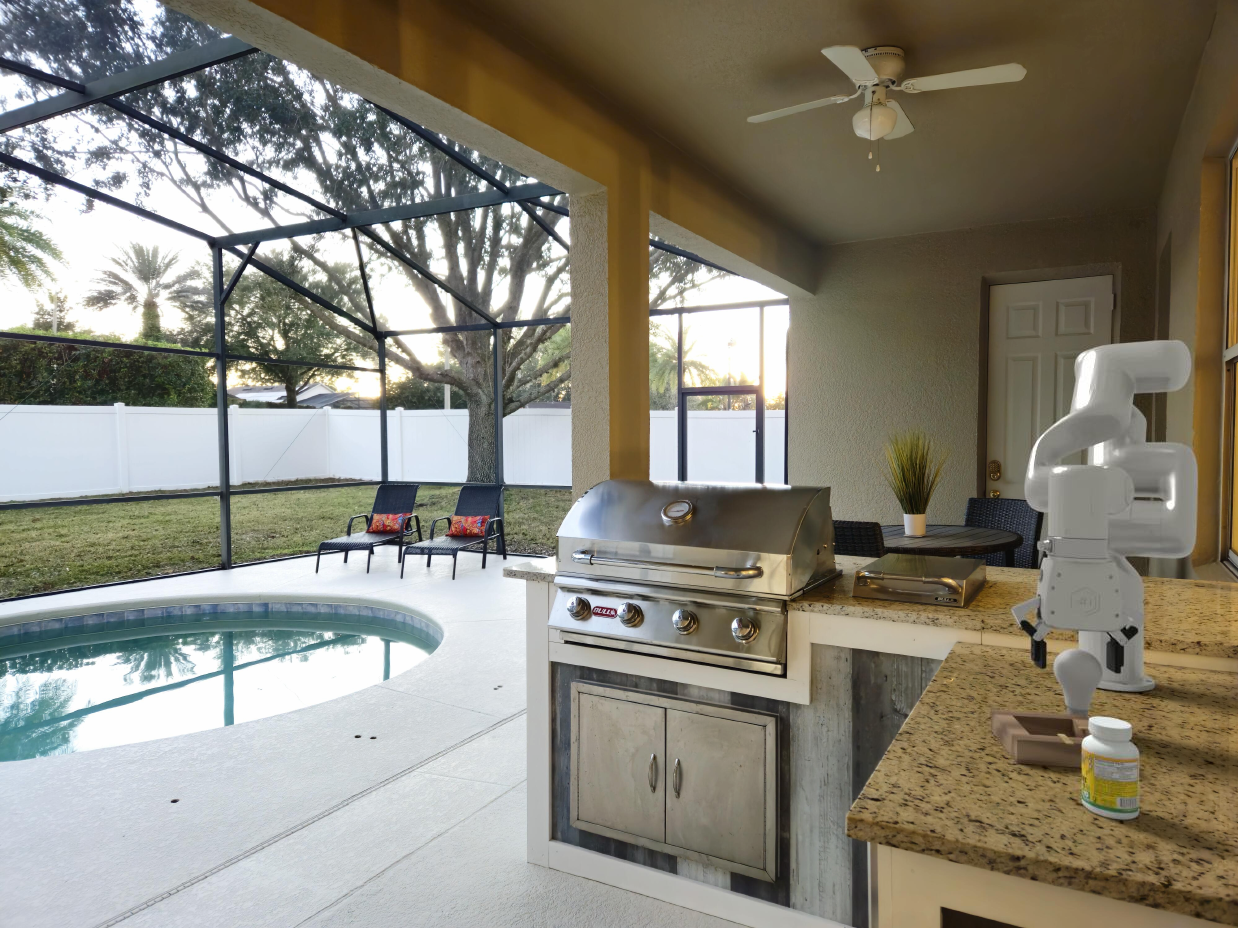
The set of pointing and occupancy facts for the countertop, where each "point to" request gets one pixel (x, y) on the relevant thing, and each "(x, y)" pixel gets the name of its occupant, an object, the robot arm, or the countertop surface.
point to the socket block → (1041, 736)
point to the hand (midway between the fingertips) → (1076, 668)
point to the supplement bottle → (1110, 769)
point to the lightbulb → (1077, 679)
